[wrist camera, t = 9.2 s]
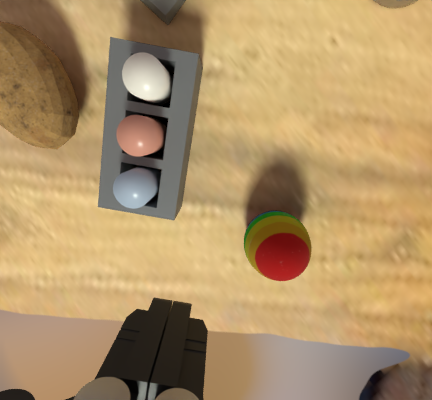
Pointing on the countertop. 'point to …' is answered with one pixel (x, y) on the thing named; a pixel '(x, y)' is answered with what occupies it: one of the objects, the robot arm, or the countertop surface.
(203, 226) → the countertop surface
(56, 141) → the potato
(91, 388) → the robot arm
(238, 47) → the countertop surface
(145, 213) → the grey rectangular block
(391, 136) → the countertop surface
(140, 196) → the blue grey egg
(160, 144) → the brown egg
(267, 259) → the decorative egg
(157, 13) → the soap mold
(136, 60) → the white egg
